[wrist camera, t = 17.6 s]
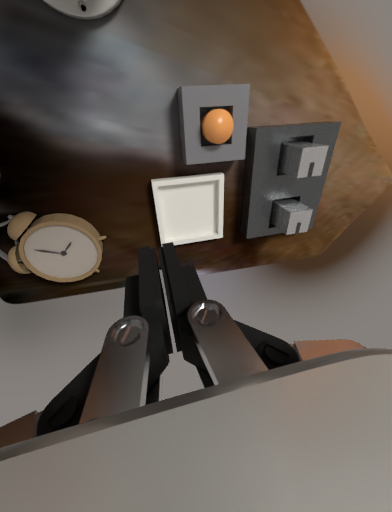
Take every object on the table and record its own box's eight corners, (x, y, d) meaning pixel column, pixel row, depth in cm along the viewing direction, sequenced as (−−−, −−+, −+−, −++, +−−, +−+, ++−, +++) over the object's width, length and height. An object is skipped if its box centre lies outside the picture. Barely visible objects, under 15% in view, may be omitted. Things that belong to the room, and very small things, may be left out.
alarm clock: (97, 285, 39) (-15, 282, 31) (96, 269, 43) (-5, 262, 35) (109, 230, 34) (-21, 210, 26) (107, 217, 38) (-8, 196, 30)
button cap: (199, 110, 29) (204, 109, 27) (227, 108, 30) (234, 108, 28) (200, 143, 31) (205, 145, 29) (226, 141, 32) (232, 142, 30)
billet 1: (275, 142, 35) (303, 148, 29) (297, 140, 36) (329, 145, 30) (272, 169, 37) (297, 179, 32) (292, 167, 38) (321, 176, 32)
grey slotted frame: (247, 127, 33) (256, 128, 31) (327, 121, 36) (341, 122, 33) (240, 231, 43) (246, 238, 41) (302, 222, 46) (312, 228, 43)
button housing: (177, 88, 29) (181, 86, 26) (240, 86, 30) (250, 83, 28) (182, 161, 34) (186, 164, 31) (237, 156, 35) (244, 159, 33)
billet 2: (268, 198, 40) (291, 212, 34) (288, 196, 41) (313, 209, 35) (265, 219, 43) (286, 235, 37) (284, 216, 43) (307, 232, 37)
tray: (150, 179, 34) (151, 181, 33) (221, 172, 36) (224, 174, 35) (160, 243, 40) (161, 247, 39) (220, 234, 42) (222, 237, 41)
